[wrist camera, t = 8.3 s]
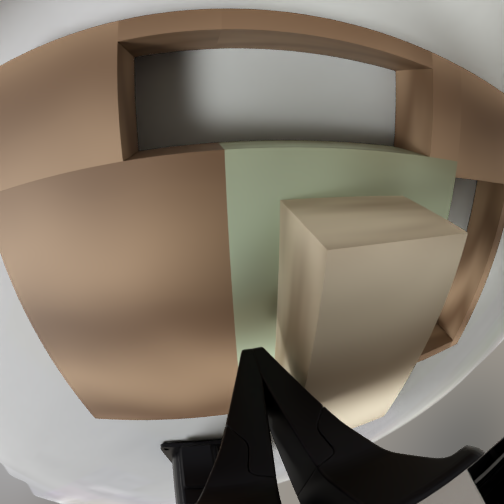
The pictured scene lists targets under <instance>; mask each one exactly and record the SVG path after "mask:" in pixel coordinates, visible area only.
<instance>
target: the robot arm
mask: <svg viewBox="0 0 504 504" xmlns="http://www.w3.org/2000/svg"><path fill="white" fill-rule="evenodd" d="M269 428H270V429H269ZM270 431H271V434H272V436H273V439H274V441H275V444H276V446H277V449H278V451H279V454H280V456H281V459H282V461H283V464H284V466H285V469H286V471H287V473H288V476H289V478H290V481H291V483H292V485H293V488H294V490H295V492H296V494H297V496H298V499H299V502H300V504H504V437H503V438H502V439H501V440H500V441H498V442H497V443H496V444H495V445H494V446H493V447H492V448H491V449H489V450H488V451H487V452H486V453H485V454H484V451H483V450H481V449H479V448H476V447H473V446H468V445H466V446H464V447H463V448H462V449H460V450H459V451H458V452H456V453H455V454H453V455H452V456H449V457H446V458H429V457H421V456H413V455H407V454H400V453H395V452H391V451H388V450H385V449H383V448H381V447H379V446H377V445H376V444H374V443H373V442H371V441H370V440H368V439H366V438H365V437H363V436H362V435H360V434H359V433H357V432H356V431H354V430H353V429H351V428H350V427H349V426H347V425H346V424H344V423H343V422H342V421H340V420H339V419H338V418H337V417H336V416H334V415H333V414H332V413H331V412H330V411H329V410H328V409H327V408H326V407H323V405H322V404H321V403H320V402H319V401H318V400H317V399H316V398H315V397H314V396H313V395H311V394H310V393H309V392H308V391H307V390H306V389H305V388H304V387H303V386H302V385H301V384H300V383H299V382H298V381H297V380H296V379H295V378H294V377H293V376H292V375H291V374H290V373H289V372H288V371H287V370H286V369H285V368H283V367H282V366H281V365H280V364H279V363H278V362H277V361H276V360H275V359H274V358H273V357H272V356H271V355H270V354H269V353H268V352H267V350H266V349H265V348H263V347H257V348H253V349H244V350H242V351H241V356H240V360H239V365H238V370H237V375H236V379H235V384H234V389H233V394H232V398H231V403H230V408H229V412H228V417H227V422H226V427H225V430H224V435H223V439H222V440H214V441H203V442H190V443H167V444H161V450H162V451H163V453H164V454H165V455H166V456H167V458H168V459H169V460H170V461H171V462H172V464H173V476H174V487H175V497H176V504H281V500H280V496H279V491H278V486H277V479H276V472H275V465H274V458H273V450H272V443H271V436H270ZM483 454H484V455H483Z"/></svg>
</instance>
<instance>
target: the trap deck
mask: <svg viewBox="0 0 504 504" xmlns="http://www.w3.org/2000/svg"><path fill="white" fill-rule="evenodd" d="M218 48H255V49H275V50H288V51H298V52H306V53H314V54H321V55H327V56H333V57H339V58H344V59H350V60H354V61H359V62H363V63H368V64H372V65H376V66H380V67H384V68H387V69H391V70H394V71H396V116H395V137H394V146H386V145H376V144H365V143H352V142H336V141H312V140H258V141H233V142H217V143H203V144H192V145H182V146H173V147H165V148H157V149H150V150H143V151H139V148H138V136H137V123H136V106H135V77H134V57H139V56H145V55H152V54H159V53H166V52H175V51H185V50H198V49H218ZM455 178H464V179H472V180H477V186H476V191H475V197H474V202H473V207H472V211H471V216H470V220H469V224H468V228H467V233H468V235H467V238H466V242H465V245H464V249H463V252H462V256H461V259H460V262H459V265H458V268H457V271H456V274H455V277H454V280H453V283H452V285H451V288H450V291H449V293H448V296H447V299H446V301H445V304H444V306H443V308H442V311H441V313H440V316H439V318H438V320H437V322H436V325H435V327H434V329H433V331H432V333H431V335H430V337H429V340H428V342H427V344H426V346H425V348H424V350H423V352H422V354H421V355H420V357H419V359H418V361H417V362H419V361H422V360H424V359H426V358H428V357H431V356H433V355H435V354H437V353H439V352H441V351H443V350H445V349H447V348H449V347H451V346H453V345H455V344H457V342H458V340H459V338H460V337H461V335H462V333H463V331H464V329H465V327H466V325H467V323H468V321H469V319H470V317H471V315H472V313H473V310H474V308H475V306H476V304H477V302H478V299H479V297H480V295H481V292H482V290H483V288H484V285H485V283H486V280H487V277H488V275H489V272H490V269H491V267H492V264H493V261H494V258H495V255H496V252H497V249H498V246H499V242H500V239H501V235H502V232H503V228H504V93H503V92H501V91H500V90H498V89H497V88H495V87H494V86H492V85H491V84H489V83H488V82H486V81H484V80H483V79H481V78H480V77H478V76H476V75H475V74H473V73H471V72H469V71H468V70H466V69H464V68H462V67H460V66H458V65H457V64H455V63H453V62H451V61H449V60H447V59H445V58H443V57H441V56H439V55H436V54H434V53H432V52H430V51H428V50H425V49H423V48H421V47H418V46H416V45H413V44H411V43H408V42H406V41H403V40H401V39H398V38H395V37H392V36H389V35H386V34H383V33H380V32H377V31H374V30H371V29H367V28H364V27H360V26H356V25H353V24H349V23H345V22H340V21H336V20H331V19H326V18H321V17H316V16H310V15H304V14H297V13H289V12H281V11H270V10H256V9H198V10H184V11H174V12H166V13H158V14H151V15H145V16H139V17H134V18H129V19H124V20H120V21H115V22H111V23H107V24H103V25H100V26H96V27H93V28H89V29H86V30H83V31H79V32H76V33H73V34H71V35H68V36H65V37H62V38H59V39H57V40H54V41H52V42H49V43H47V44H44V45H42V46H40V47H37V48H35V49H33V50H31V51H28V52H26V53H24V54H22V55H20V56H18V57H16V58H14V59H12V60H10V61H8V62H6V63H5V64H3V65H1V66H0V253H1V256H2V259H3V262H4V264H5V267H6V270H7V272H8V275H9V277H10V280H11V282H12V284H13V287H14V289H15V291H16V294H17V296H18V298H19V300H20V302H21V304H22V306H23V309H24V311H25V313H26V315H27V317H28V319H29V320H30V322H31V324H32V326H33V328H34V330H35V332H36V333H37V335H38V337H39V339H40V341H41V342H42V344H43V346H44V347H45V349H46V351H47V352H48V354H49V356H50V357H51V359H52V360H53V362H54V363H55V365H56V367H57V368H58V370H59V371H60V373H61V374H62V375H63V377H64V378H65V380H66V381H67V383H68V384H69V385H70V387H71V388H72V390H73V391H74V392H75V394H76V395H77V396H78V398H79V399H80V400H81V401H82V403H83V404H84V405H85V407H86V408H87V409H88V410H89V411H90V413H91V414H92V415H93V416H94V417H95V418H98V419H118V420H162V419H183V418H196V417H207V416H217V415H225V414H228V412H229V408H230V403H231V398H232V394H233V389H234V384H235V379H236V375H237V370H238V365H239V360H240V356H241V351H242V350H244V349H253V348H257V347H263V348H265V349H266V350H267V352H268V353H269V354H270V355H271V356H272V357H273V358H274V359H275V344H276V323H277V300H278V271H279V235H280V200H289V199H306V198H327V197H355V196H404V197H406V198H408V199H410V200H412V201H414V202H416V203H418V204H419V205H421V206H423V207H425V208H427V209H429V210H430V211H432V212H434V213H436V214H437V215H439V216H441V217H443V218H444V219H446V220H448V216H449V211H450V206H451V201H452V195H453V190H454V183H455Z"/></svg>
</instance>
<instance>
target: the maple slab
mask: <svg viewBox="0 0 504 504" xmlns="http://www.w3.org/2000/svg"><path fill="white" fill-rule="evenodd" d="M467 235H468V233H467V232H466V231H464V230H463V229H461V228H459V227H458V226H456V225H455V224H453V223H451V222H449V221H448V220H446V219H444V218H443V217H441V216H439V215H437V214H436V213H434V212H432V211H430V210H429V209H427V208H425V207H423V206H421V205H419V204H418V203H416V202H414V201H412V200H410V199H408V198H406V197H404V196H355V197H327V198H306V199H289V200H280V235H279V271H278V300H277V323H276V344H275V360H276V361H277V362H278V363H279V364H280V365H281V366H282V367H283V368H285V369H286V370H287V371H288V372H289V373H290V374H291V375H292V376H293V377H294V378H295V379H296V380H297V381H298V382H299V383H300V384H301V385H302V386H303V387H304V388H305V389H306V390H307V391H308V392H309V393H310V394H311V395H313V396H314V397H315V398H316V399H317V400H318V401H319V402H320V403H321V404H322V405H323V407H326V408H327V409H328V410H329V411H330V412H331V413H332V414H333V415H334V416H336V417H337V418H338V419H339V420H340V421H342V422H343V423H344V424H346V425H347V426H349V427H350V428H351V429H352V428H355V427H357V426H360V425H363V424H365V423H368V422H371V421H373V420H376V419H378V418H380V417H383V416H384V415H385V414H386V412H387V411H388V409H389V408H390V406H391V405H392V403H393V402H394V400H395V399H396V397H397V396H398V394H399V392H400V391H401V389H402V387H403V386H404V384H405V382H406V381H407V379H408V377H409V376H410V374H411V372H412V370H413V368H414V367H415V365H416V363H417V361H418V359H419V357H420V355H421V354H422V352H423V350H424V348H425V346H426V344H427V342H428V340H429V337H430V335H431V333H432V331H433V329H434V327H435V325H436V322H437V320H438V318H439V316H440V313H441V311H442V308H443V306H444V304H445V301H446V299H447V296H448V293H449V291H450V288H451V285H452V283H453V280H454V277H455V274H456V271H457V268H458V265H459V262H460V259H461V256H462V252H463V249H464V245H465V242H466V238H467Z"/></svg>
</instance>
